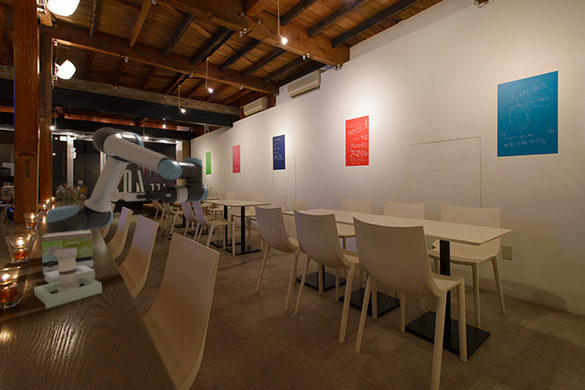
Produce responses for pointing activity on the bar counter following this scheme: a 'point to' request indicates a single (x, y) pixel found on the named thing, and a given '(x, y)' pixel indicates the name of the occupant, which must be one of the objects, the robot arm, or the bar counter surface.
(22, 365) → the bar counter surface
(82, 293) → the parts tray
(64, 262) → the fuse
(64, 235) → the tea box
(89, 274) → the white square dish
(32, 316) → the bar counter surface
